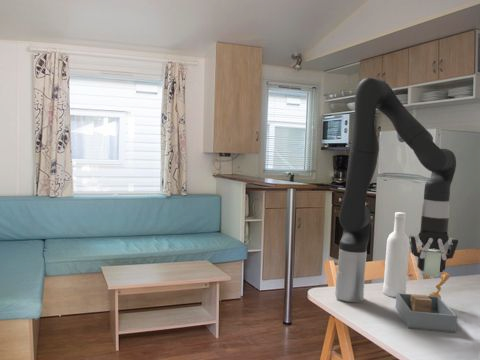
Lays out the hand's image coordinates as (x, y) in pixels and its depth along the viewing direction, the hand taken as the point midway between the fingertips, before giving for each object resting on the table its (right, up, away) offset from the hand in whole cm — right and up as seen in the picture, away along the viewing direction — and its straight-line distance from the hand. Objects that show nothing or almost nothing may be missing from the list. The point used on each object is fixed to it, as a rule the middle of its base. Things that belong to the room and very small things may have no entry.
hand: (430, 270), depth 134 cm
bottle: (-1, -14, +27) cm, 31 cm away
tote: (0, -16, +4) cm, 17 cm away
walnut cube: (0, -15, +9) cm, 17 cm away
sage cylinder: (0, -1, 0) cm, 1 cm away
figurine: (+10, -16, +19) cm, 27 cm away
